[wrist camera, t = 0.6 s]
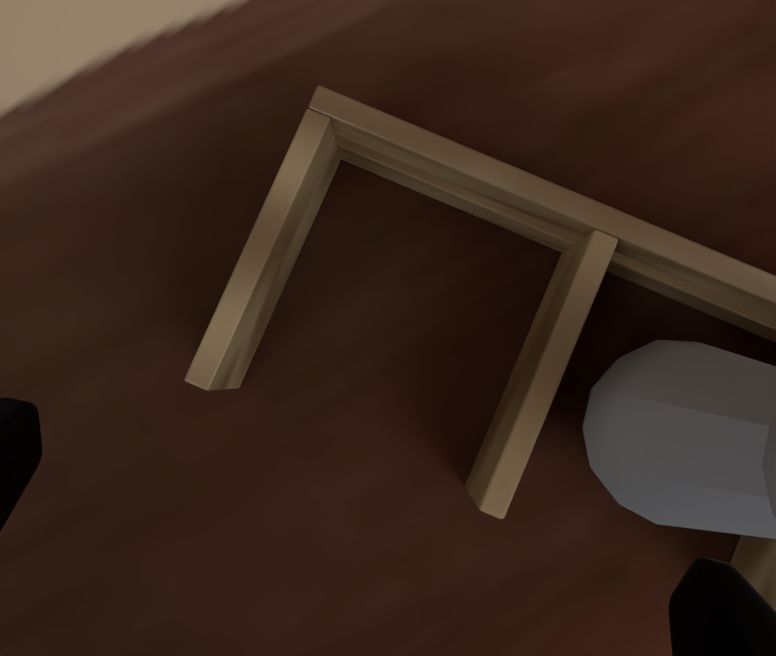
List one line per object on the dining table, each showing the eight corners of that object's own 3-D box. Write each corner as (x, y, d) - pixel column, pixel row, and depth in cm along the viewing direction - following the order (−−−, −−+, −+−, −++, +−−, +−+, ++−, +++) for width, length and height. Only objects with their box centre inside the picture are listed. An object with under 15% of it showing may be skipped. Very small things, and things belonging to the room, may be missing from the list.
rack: (737, 607, 23) (810, 655, 19) (218, 380, 23) (182, 380, 20) (837, 345, 23) (928, 338, 19) (329, 132, 24) (317, 83, 20)
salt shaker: (532, 407, 23) (705, 444, 10) (660, 311, 24) (986, 228, 11) (635, 544, 23) (949, 759, 10) (764, 445, 23) (1235, 528, 10)
